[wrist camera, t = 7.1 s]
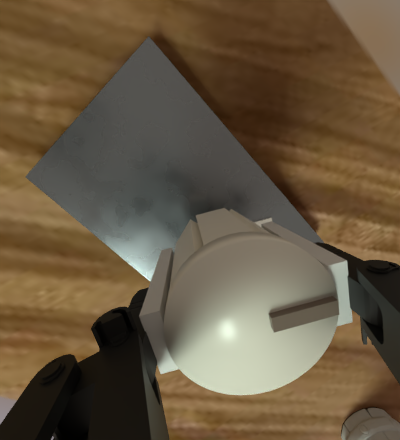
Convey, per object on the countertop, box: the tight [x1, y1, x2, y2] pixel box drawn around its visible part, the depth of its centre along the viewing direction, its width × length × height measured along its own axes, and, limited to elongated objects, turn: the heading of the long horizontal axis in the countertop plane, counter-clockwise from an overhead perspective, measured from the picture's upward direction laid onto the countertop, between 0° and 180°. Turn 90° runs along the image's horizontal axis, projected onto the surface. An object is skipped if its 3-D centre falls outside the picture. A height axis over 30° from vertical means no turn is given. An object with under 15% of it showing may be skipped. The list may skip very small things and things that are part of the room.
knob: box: [164, 208, 339, 395], centre depth 10 cm, size 6×6×7 cm
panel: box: [26, 37, 324, 282], centre depth 16 cm, size 22×14×6 cm, turn 44°
